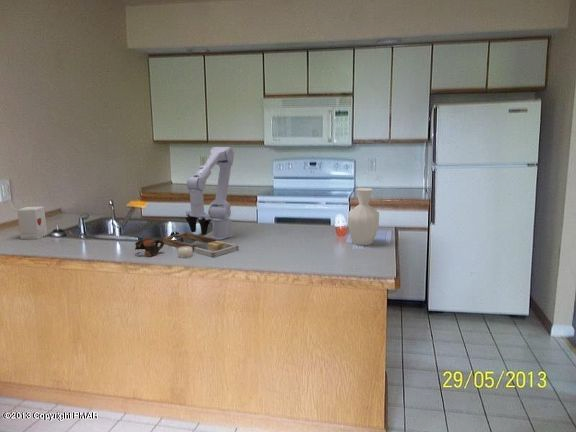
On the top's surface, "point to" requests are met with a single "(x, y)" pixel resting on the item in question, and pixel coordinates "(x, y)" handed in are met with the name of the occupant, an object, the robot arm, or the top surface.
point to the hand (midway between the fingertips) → (198, 233)
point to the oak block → (216, 246)
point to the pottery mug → (149, 246)
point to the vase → (363, 219)
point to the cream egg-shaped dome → (185, 252)
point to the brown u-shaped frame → (190, 236)
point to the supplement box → (32, 222)
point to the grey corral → (228, 249)
